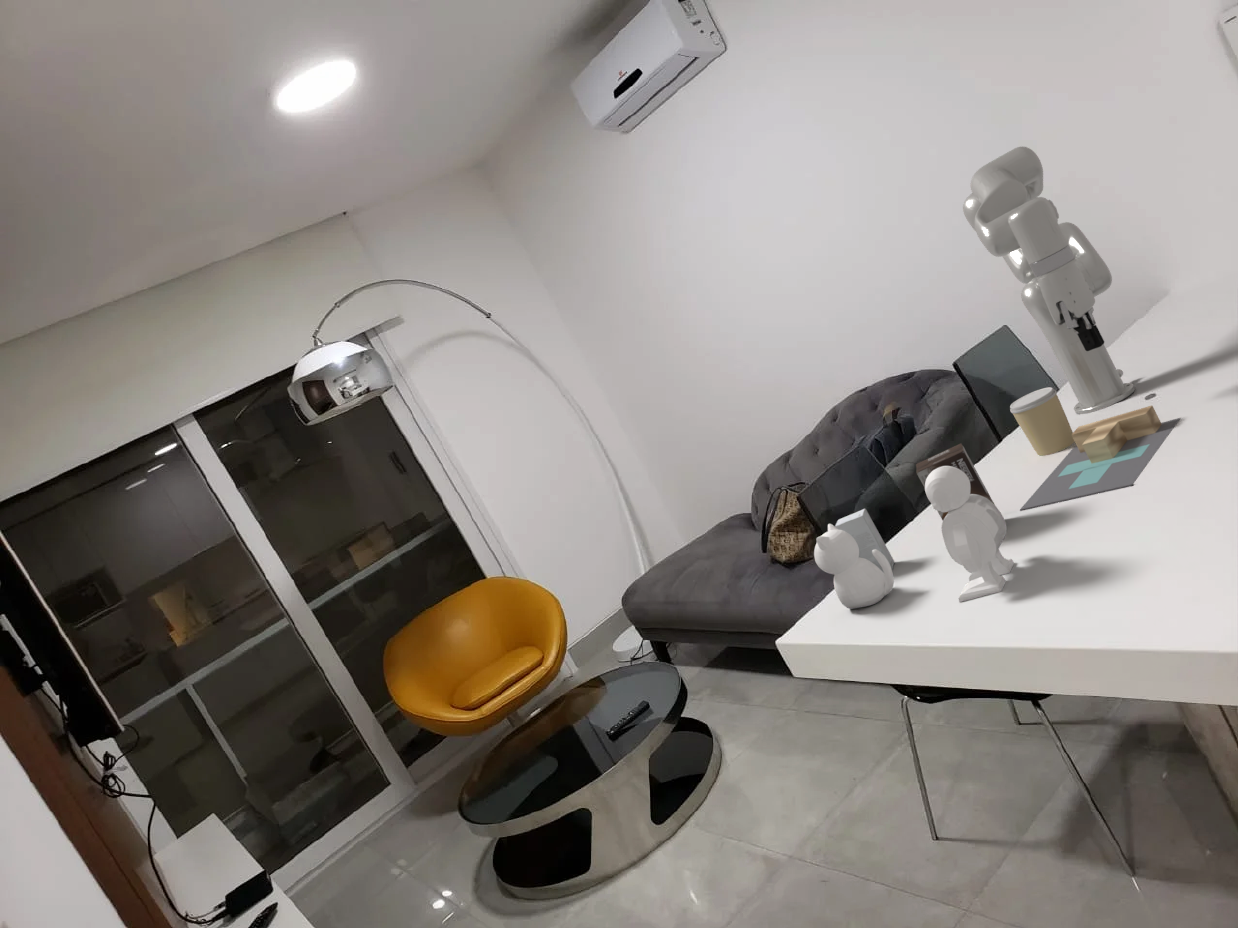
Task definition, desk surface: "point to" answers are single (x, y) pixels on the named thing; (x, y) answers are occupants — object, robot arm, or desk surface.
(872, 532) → the skincare box
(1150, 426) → the pine T block
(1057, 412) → the coffee cup
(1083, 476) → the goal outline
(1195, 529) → the desk surface
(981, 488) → the coffee box
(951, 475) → the white humanoid figurine
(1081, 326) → the robot arm
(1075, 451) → the rubber mat
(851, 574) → the cat figurine
